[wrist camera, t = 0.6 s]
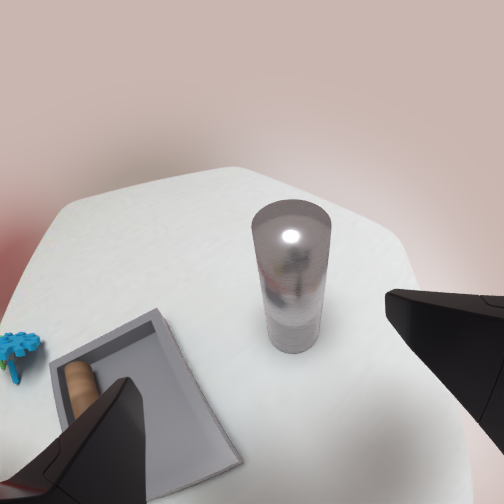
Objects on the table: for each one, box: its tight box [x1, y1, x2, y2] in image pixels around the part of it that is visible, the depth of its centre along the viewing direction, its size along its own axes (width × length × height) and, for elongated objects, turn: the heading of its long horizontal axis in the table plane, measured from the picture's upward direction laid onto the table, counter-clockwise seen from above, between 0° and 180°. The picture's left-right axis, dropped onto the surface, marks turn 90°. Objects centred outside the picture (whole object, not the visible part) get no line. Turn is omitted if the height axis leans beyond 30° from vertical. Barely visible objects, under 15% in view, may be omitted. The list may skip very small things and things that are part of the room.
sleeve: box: [252, 199, 331, 354], centre depth 21 cm, size 5×5×13 cm
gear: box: [0, 332, 41, 384], centre depth 23 cm, size 11×6×10 cm
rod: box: [64, 361, 99, 420], centre depth 20 cm, size 7×3×3 cm, turn 31°
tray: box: [49, 308, 244, 501], centre depth 20 cm, size 16×14×3 cm
